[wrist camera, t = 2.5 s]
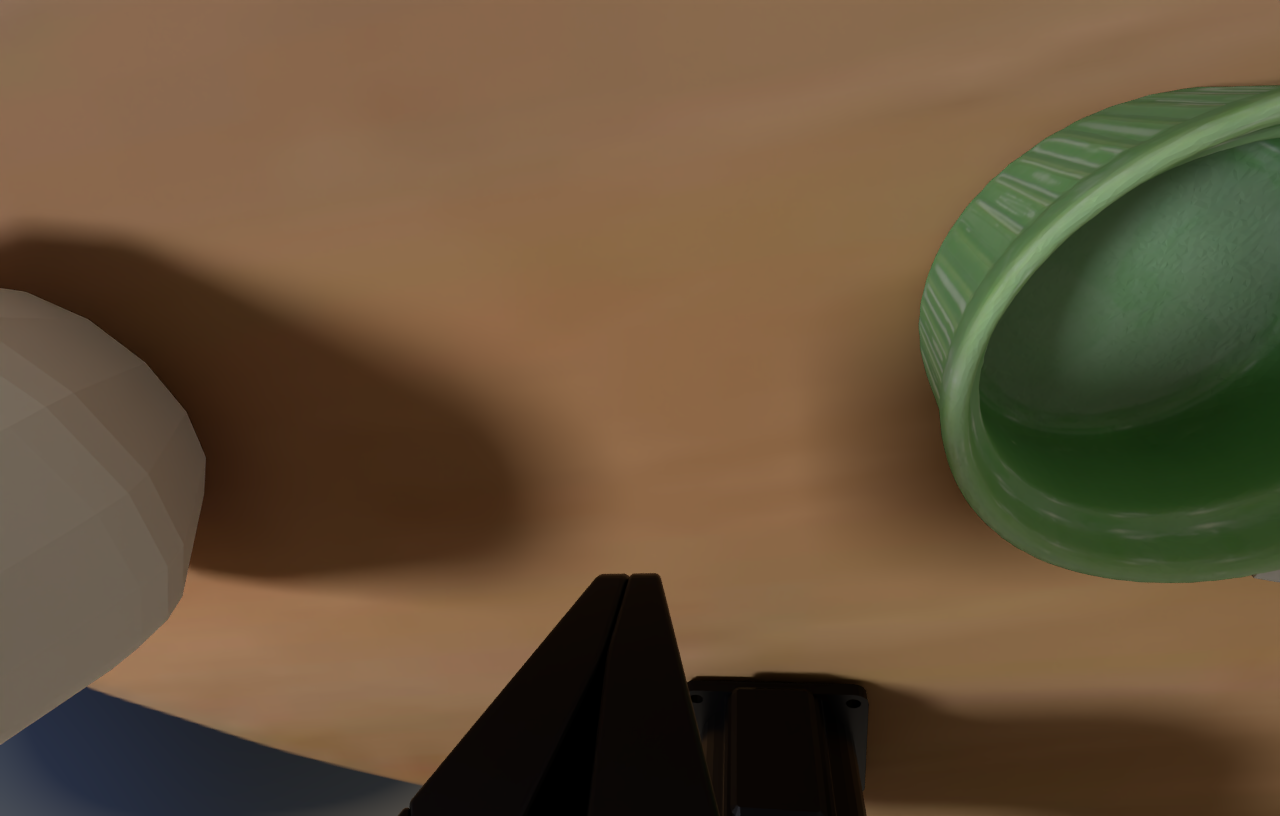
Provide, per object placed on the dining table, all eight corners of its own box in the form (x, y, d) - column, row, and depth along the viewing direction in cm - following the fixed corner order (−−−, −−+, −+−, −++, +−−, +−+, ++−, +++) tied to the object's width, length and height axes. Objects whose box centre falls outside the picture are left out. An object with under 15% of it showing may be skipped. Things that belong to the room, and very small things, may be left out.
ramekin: (810, 317, 14) (835, 412, 11) (1199, -67, 10) (1471, -131, 6) (1050, 511, 16) (1141, 648, 13) (1466, 261, 12) (1792, 360, 8)
